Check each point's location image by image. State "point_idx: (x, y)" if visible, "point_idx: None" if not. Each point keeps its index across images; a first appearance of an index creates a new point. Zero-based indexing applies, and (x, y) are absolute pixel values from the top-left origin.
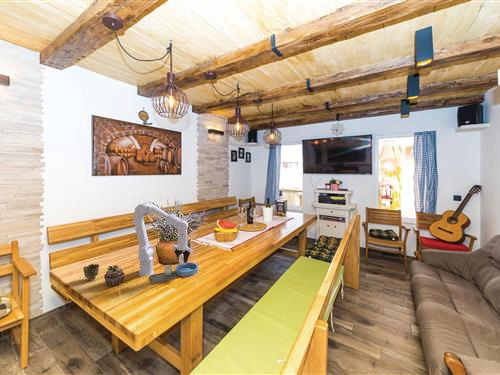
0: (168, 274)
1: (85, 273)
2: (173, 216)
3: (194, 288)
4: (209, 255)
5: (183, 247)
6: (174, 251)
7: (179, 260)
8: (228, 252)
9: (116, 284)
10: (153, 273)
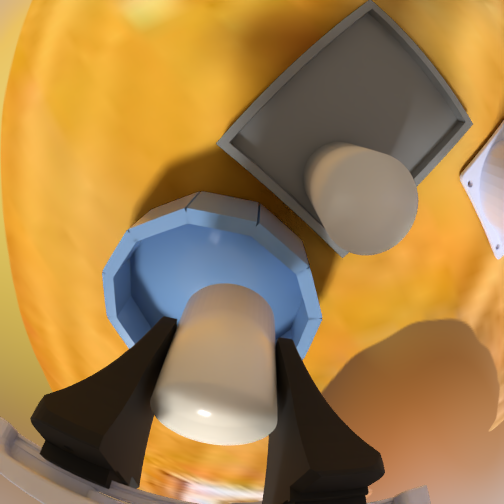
0: (324, 151)
1: None
2: None
3: (30, 98)
4: (225, 455)
5: None
6: (372, 462)
7: (238, 330)
8: (168, 467)
9: None
10: (467, 178)
